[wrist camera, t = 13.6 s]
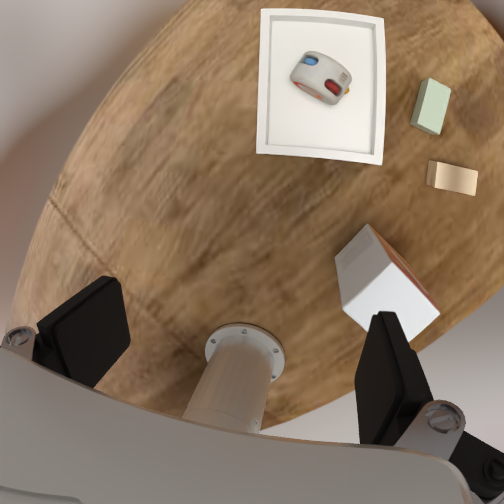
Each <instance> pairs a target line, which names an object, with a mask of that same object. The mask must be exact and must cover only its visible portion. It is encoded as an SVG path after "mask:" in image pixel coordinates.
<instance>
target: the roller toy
mask: <svg viewBox="0 0 504 504" xmlns="http://www.w3.org/2000/svg"><path fill="white" fill-rule="evenodd" d="M290 80H291V81H292V83H293V84H295V85H296V86H297V87H299V88H300V89H301V90H303V91H304V92H306V93H308V94H309V95H311V96H313V97H314V98H316V99H318V100H320V101H322V102H324V103H327V104H330V105H335V104H337V103H338V102H339V101H340V99H341V98H342V96H343V95H344V94H347V93H348V92H349V87H348V86H349V85H350V83H351V81H352V77H351V74H350V73H349V71H348V70H347V69H346V68H345V67H344V66H343V65H341V64H340V63H339V62H337V61H336V60H334V59H332V58H331V57H329V56H327V55H325V54H322V53H319V52H316V51H307V52H305V53H304V54H303V56H302V57H301V59H300V60H299V62H298V63H297V65H296V66H295V68H294V69H293V71H292V73H291V74H290Z"/></svg>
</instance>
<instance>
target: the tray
mask: <svg viewBox="0 0 504 504" xmlns="http://www.w3.org/2000/svg"><path fill="white" fill-rule="evenodd" d="M307 51H316V52H319V53H322V54H325V55H327V56H329V57H331V58H332V59H334V60H336V61H337V62H339V63H340V64H341V65H343V66H344V67H345V68H346V69H347V70H348V71H349V73H350V74H351V77H352V81H351V83H350V85H349V86H348V87H349V92H348V93H347V94H344V95H343V96H342V98H341V99H340V101H339V102H338V103H337V104H335V105H330V104H327V103H324V102H322V101H320V100H318V99H316V98H314V97H313V96H311V95H309V94H308V93H306V92H304V91H303V90H301V89H300V88H299V87H297V86H296V85H295V84H293V83H292V81H291V80H290V74H291V73H292V71H293V69H294V68H295V66H296V65H297V63H298V62H299V60H300V59H301V57H302V56H303V54H304V53H305V52H307ZM385 104H386V57H385V33H384V19H383V18H378V17H372V16H366V15H360V14H353V13H345V12H336V11H325V10H311V9H261V28H260V56H259V84H258V113H257V141H256V153H257V154H276V155H292V156H305V157H316V158H326V159H336V160H345V161H353V162H361V163H369V164H376V165H382V158H383V145H384V129H385Z"/></svg>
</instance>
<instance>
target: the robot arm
mask: <svg viewBox="0 0 504 504" xmlns="http://www.w3.org/2000/svg"><path fill="white" fill-rule="evenodd" d="M36 324H37V327H38V330H39V333H38V334H37V335H36V332H35V330H34V329H33V328H31V327H28V326H21V327H16V328H14V329H12V330H10V331H9V332H8V333H7V334H6V335H5V336H4V338H3V341H2V344H1V346H0V504H504V453H502V452H500V451H499V450H497V449H495V448H493V447H492V446H490V445H488V444H486V443H484V442H483V441H481V440H479V439H478V438H476V437H474V436H472V435H470V434H469V433H467V432H465V431H464V428H465V424H466V421H465V416H464V414H463V412H462V410H461V409H460V408H459V407H458V406H456V405H455V404H453V403H451V402H448V401H446V400H434V399H433V396H432V394H431V391H430V388H429V386H428V382H427V380H426V377H425V375H424V372H423V370H422V367H421V364H420V362H419V359H418V357H417V354H416V352H415V350H413V349H411V348H410V345H409V343H408V341H407V338H406V336H405V333H404V331H403V328H402V326H401V324H400V321H399V319H398V317H397V314H396V313H395V312H392V311H379V312H378V314H377V315H376V314H373V316H372V318H371V322H370V326H369V330H368V333H367V337H366V340H365V344H364V347H363V351H362V354H361V358H360V361H359V364H358V367H357V371H356V374H355V392H356V401H357V412H358V424H359V438H360V444H353V443H337V442H321V441H310V440H301V439H292V438H284V437H276V436H268V435H262V434H259V431H260V426H261V422H262V418H263V414H264V409H265V405H266V400H267V396H268V391H269V387H270V383H272V382H273V381H275V380H276V379H277V378H278V377H279V376H280V375H281V373H282V371H283V369H284V365H285V353H284V350H283V348H282V346H281V344H280V343H279V341H278V340H277V339H276V338H275V337H274V336H273V335H271V334H270V333H269V332H267V331H265V330H263V329H261V328H259V327H256V326H253V325H249V324H241V323H235V324H228V325H225V326H222V327H220V328H218V329H217V330H215V331H214V332H213V333H212V334H211V335H210V337H209V339H208V341H207V343H206V346H205V356H206V360H207V362H208V364H207V366H206V368H205V370H204V372H203V374H202V376H201V378H200V380H199V382H198V385H197V387H196V389H195V391H194V393H193V395H192V397H191V399H190V401H189V403H188V405H187V407H186V409H185V411H184V414H183V416H182V417H181V418H180V417H177V416H173V415H169V414H166V413H162V412H159V411H156V410H152V409H149V408H146V407H143V406H140V405H137V404H134V403H131V402H128V401H125V400H122V399H119V398H117V397H114V396H111V395H108V394H106V393H103V392H101V391H98V390H96V389H93V388H94V387H95V386H96V384H97V383H98V382H99V381H100V380H101V378H102V377H103V376H104V375H105V374H106V372H107V371H108V370H109V369H110V368H111V367H112V365H113V364H114V363H115V362H116V361H117V360H118V358H119V357H120V356H121V355H122V354H123V353H124V351H125V350H126V349H127V348H128V347H129V345H130V341H131V339H130V333H129V328H128V323H127V318H126V312H125V306H124V301H123V294H122V288H121V284H120V283H119V282H118V280H117V279H116V278H115V277H109V276H101V277H100V278H98V279H97V280H95V281H94V282H92V283H91V284H90V285H88V286H87V287H85V288H84V289H82V290H81V291H80V292H78V293H77V294H75V295H74V296H73V297H71V298H70V299H69V300H67V301H66V302H64V303H63V304H62V305H60V306H59V307H58V308H56V309H55V310H54V311H52V312H51V313H50V314H48V315H47V316H46V317H44V318H43V319H42V320H40V321H39V322H38V323H36Z"/></svg>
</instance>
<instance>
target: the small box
mask: <svg viewBox="0 0 504 504" xmlns="http://www.w3.org/2000/svg"><path fill="white" fill-rule="evenodd" d="M335 263H336V269H337V276H338V282H339V289H340V295H341V303H342V309H343V311H345V312H346V313H347V314H348V315H349V316H350V317H351V318H352V319H354V320H355V321H356V322H357V323H358V324H359V325H360V326H362V327H363V328H364V329H365V330H366V331H367V332H368V330H369V326H370V322H371V318H372V316H373V314H376V315H377V314H378V312H379V311H392V312H395V313H396V314H397V317H398V319H399V321H400V324H401V326H402V328H403V331H404V333H405V336H406V338H407V341H408V342H409V341H411V340H412V339H413V338H414V337H415V336H416V335H418V334H419V333H420V332H421V331H422V330H423V329H424V328H425V327H427V326H428V325H429V324H430V323H431V322H432V321H433V320H434V319H435V318H436V317H437V316H438V315H440V311H439V309H438V308H437V306H436V305H435V303H434V302H433V300H432V298H431V297H430V295H429V294H428V292H427V291H426V289H425V287H424V286H423V284H422V283H421V281H420V280H419V279H418V277H417V276H416V274H415V272H414V271H413V269H412V268H411V266H410V265H409V264H408V262H407V261H406V260H405V259H404V258H403V257H402V256H400V255H399V254H398V253H397V252H396V251H395V250H394V249H393V247H392V246H390V245H389V244H388V243H387V242H386V241H385V240H384V239H383V238H382V236H381V235H380V234H379V233H378V232H377V231H376V230H375V229H374V228H373V227H372V226H371V225H370V224H368V223H367V224H366V225H365V226H364V227H363V228H362V229H361V230H360V231H359V232H358V234H357V235H356V236H355V237H354V238H353V239H352V240H351V241H350V242H349V243H348V244H347V245H346V246H345V247H344V248H343V249H342V250H341V251H340V252H339V253H338V254H337V255H336V256H335Z"/></svg>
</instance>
